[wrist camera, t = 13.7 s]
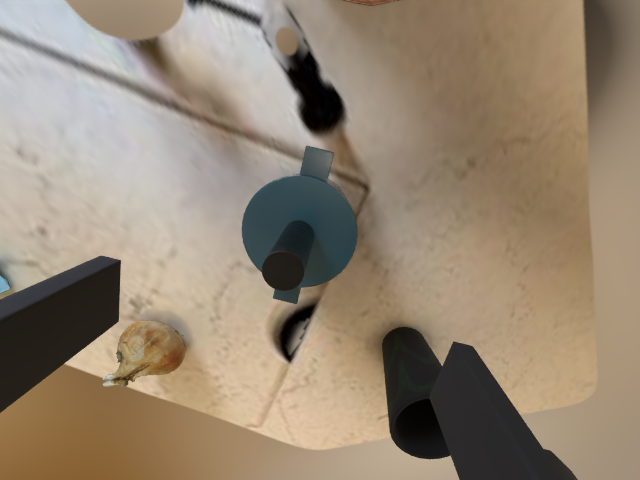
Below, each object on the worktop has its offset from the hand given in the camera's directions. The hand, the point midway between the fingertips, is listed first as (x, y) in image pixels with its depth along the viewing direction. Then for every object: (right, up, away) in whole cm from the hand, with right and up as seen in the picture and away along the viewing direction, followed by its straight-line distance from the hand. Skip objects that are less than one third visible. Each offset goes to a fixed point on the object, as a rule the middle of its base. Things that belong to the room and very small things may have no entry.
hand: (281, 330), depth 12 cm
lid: (0, +4, +14) cm, 15 cm away
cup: (+12, -10, +27) cm, 31 cm away
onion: (-19, -9, +29) cm, 36 cm away
